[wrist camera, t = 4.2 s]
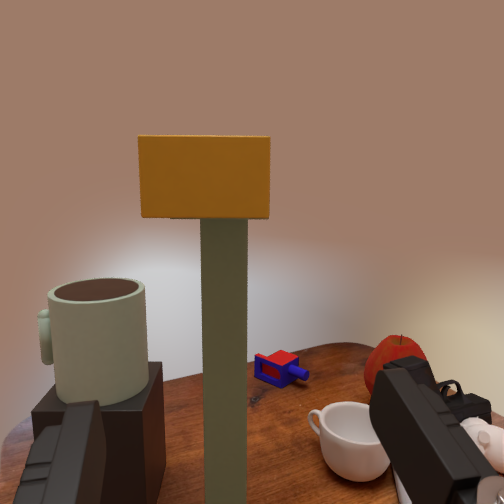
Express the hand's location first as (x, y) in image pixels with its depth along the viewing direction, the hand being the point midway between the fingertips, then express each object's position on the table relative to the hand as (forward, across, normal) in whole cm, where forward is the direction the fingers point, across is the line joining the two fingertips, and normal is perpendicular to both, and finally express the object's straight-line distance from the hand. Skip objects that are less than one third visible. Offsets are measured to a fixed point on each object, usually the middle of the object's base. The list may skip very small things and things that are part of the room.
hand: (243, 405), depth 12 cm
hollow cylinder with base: (+19, +9, +31) cm, 38 cm away
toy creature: (+16, -29, +28) cm, 43 cm away
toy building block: (+41, -10, +36) cm, 56 cm away
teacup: (+19, -15, +32) cm, 40 cm away
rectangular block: (+12, -1, -2) cm, 12 cm away
